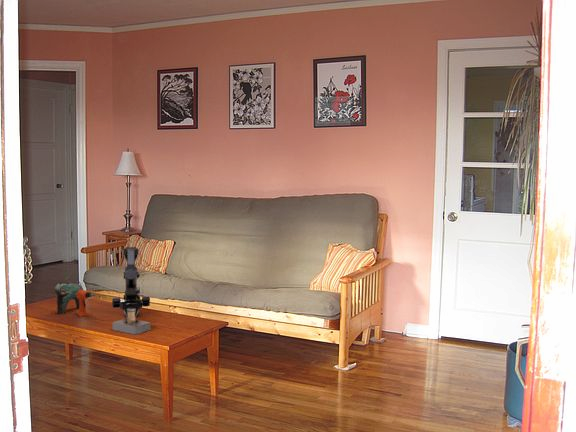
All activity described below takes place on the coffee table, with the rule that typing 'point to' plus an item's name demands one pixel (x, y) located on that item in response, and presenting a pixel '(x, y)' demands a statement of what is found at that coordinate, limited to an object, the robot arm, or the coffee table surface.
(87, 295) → the toy drill
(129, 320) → the pin
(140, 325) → the socket block
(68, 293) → the green power drill
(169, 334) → the coffee table surface
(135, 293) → the robot arm
